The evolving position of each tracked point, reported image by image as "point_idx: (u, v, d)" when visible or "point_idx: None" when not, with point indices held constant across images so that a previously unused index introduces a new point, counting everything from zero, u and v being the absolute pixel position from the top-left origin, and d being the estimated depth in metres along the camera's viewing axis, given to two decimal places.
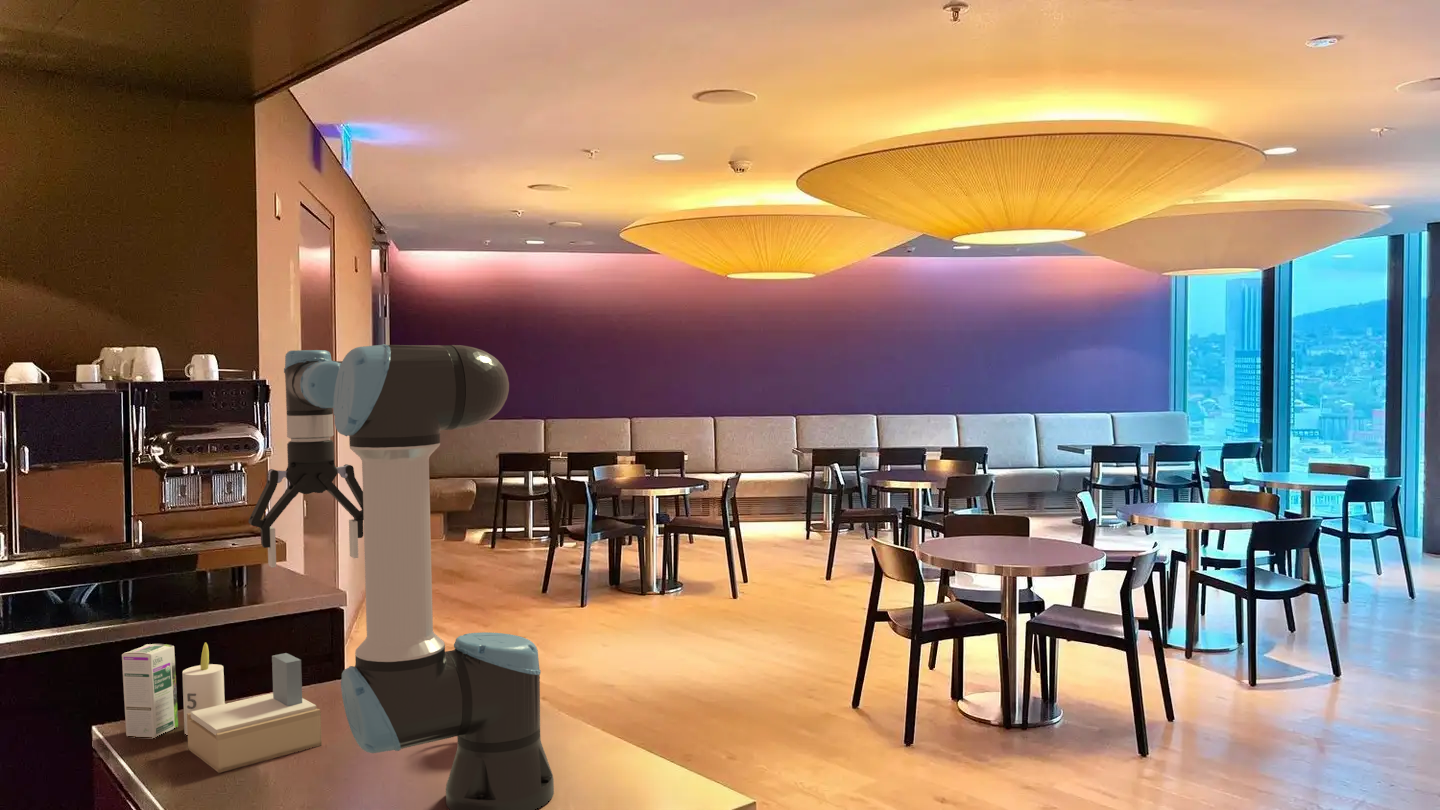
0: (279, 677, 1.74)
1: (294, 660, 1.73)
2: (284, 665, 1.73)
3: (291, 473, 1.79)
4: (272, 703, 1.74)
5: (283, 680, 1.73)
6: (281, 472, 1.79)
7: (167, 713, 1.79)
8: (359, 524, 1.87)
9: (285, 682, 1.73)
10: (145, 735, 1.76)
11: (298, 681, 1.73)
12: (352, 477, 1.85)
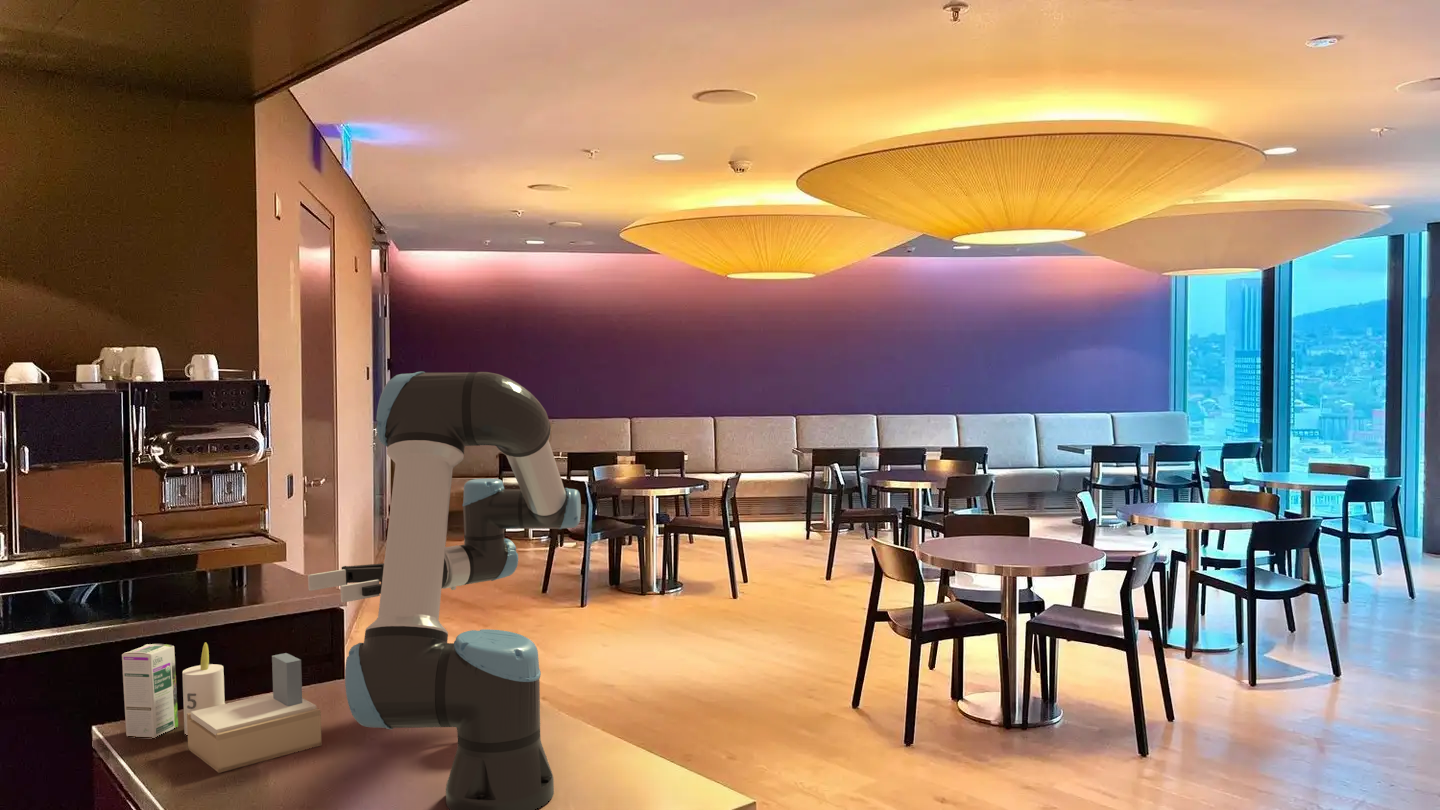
0: (279, 677, 1.74)
1: (294, 660, 1.73)
2: (284, 665, 1.73)
3: None
4: (272, 703, 1.74)
5: (283, 680, 1.73)
6: None
7: (167, 713, 1.79)
8: (377, 585, 1.78)
9: (285, 682, 1.73)
10: (145, 735, 1.76)
11: (298, 681, 1.73)
12: None
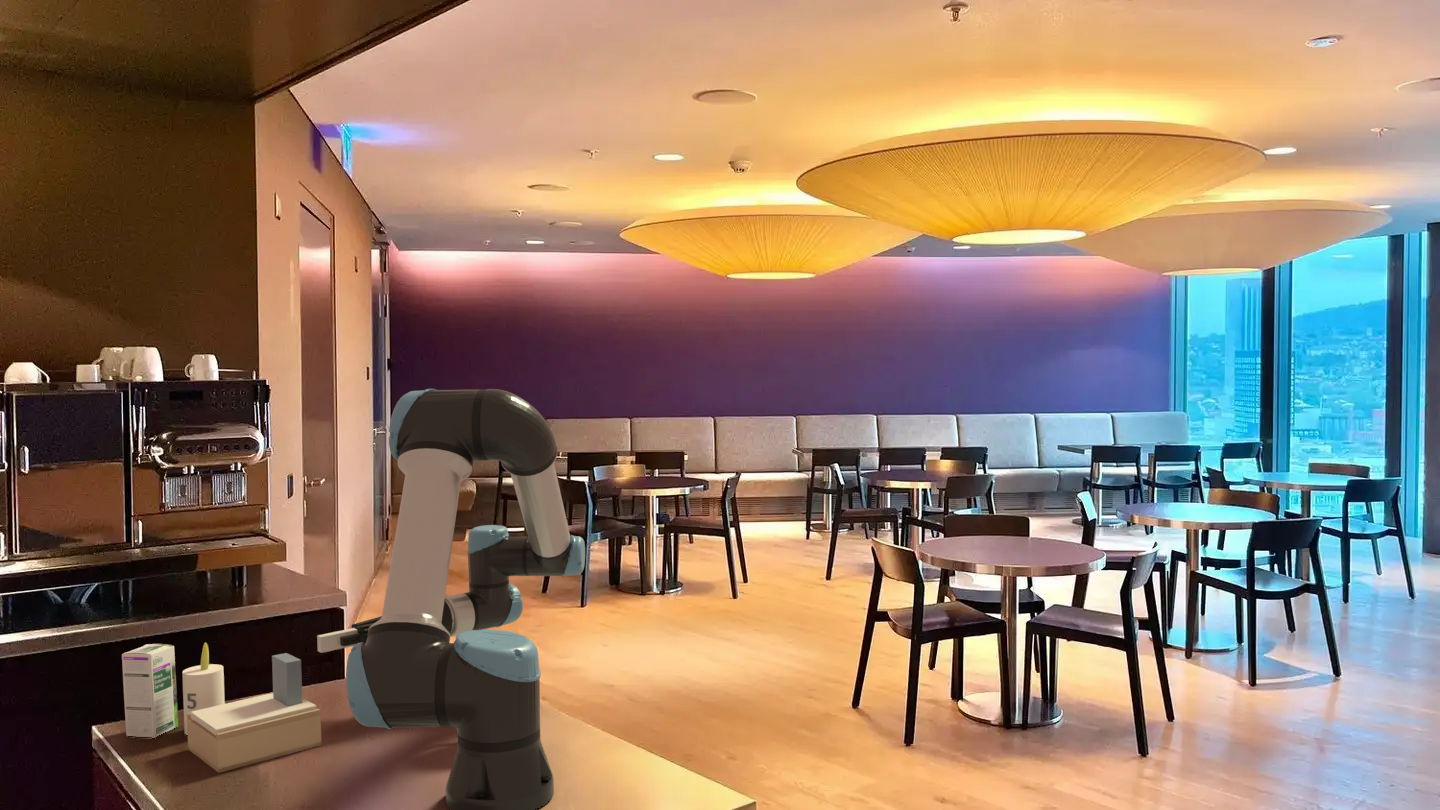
0: (279, 677, 1.74)
1: (294, 660, 1.73)
2: (284, 665, 1.73)
3: None
4: (272, 703, 1.74)
5: (283, 680, 1.73)
6: None
7: (167, 713, 1.79)
8: (355, 634, 1.82)
9: (285, 682, 1.73)
10: (145, 735, 1.76)
11: (298, 681, 1.73)
12: None
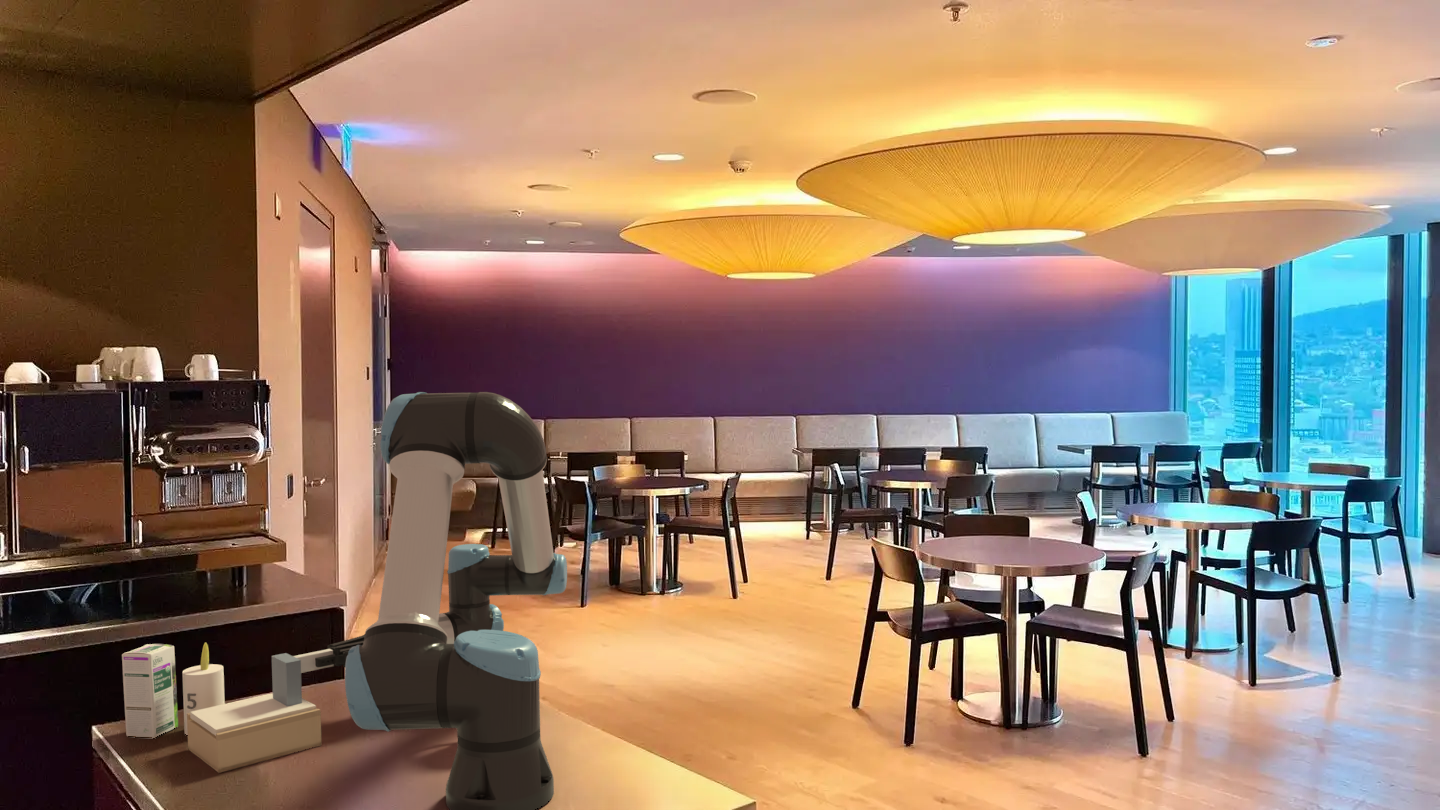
0: (279, 677, 1.74)
1: (294, 660, 1.73)
2: (284, 665, 1.73)
3: None
4: (271, 703, 1.74)
5: (283, 680, 1.73)
6: None
7: (167, 713, 1.79)
8: (330, 655, 1.80)
9: (285, 682, 1.73)
10: (145, 735, 1.76)
11: (297, 681, 1.73)
12: None
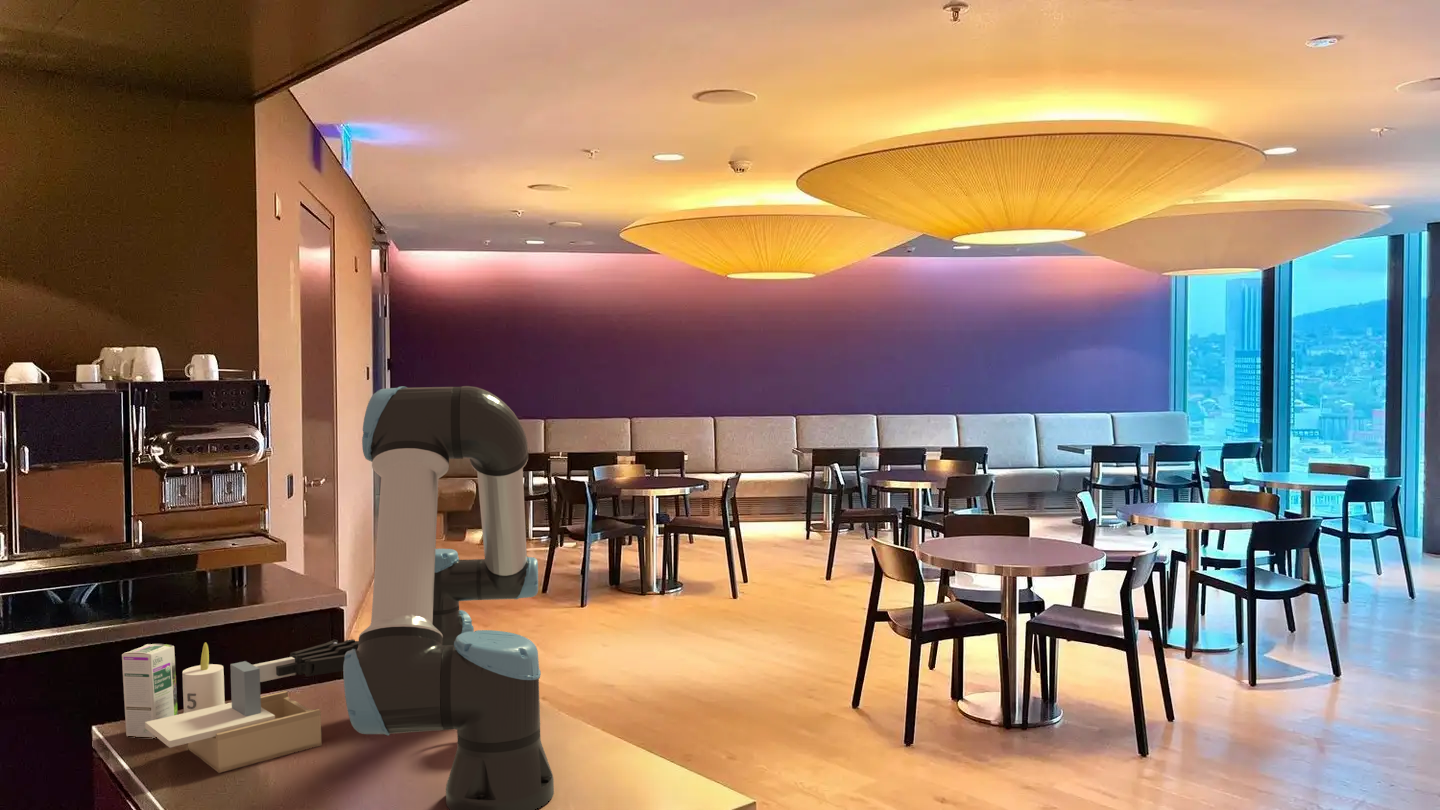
0: (238, 686, 1.70)
1: (252, 669, 1.69)
2: (242, 674, 1.68)
3: None
4: (229, 713, 1.69)
5: (241, 689, 1.68)
6: None
7: (167, 713, 1.79)
8: (292, 663, 1.75)
9: (243, 691, 1.68)
10: (145, 735, 1.76)
11: (256, 691, 1.69)
12: None
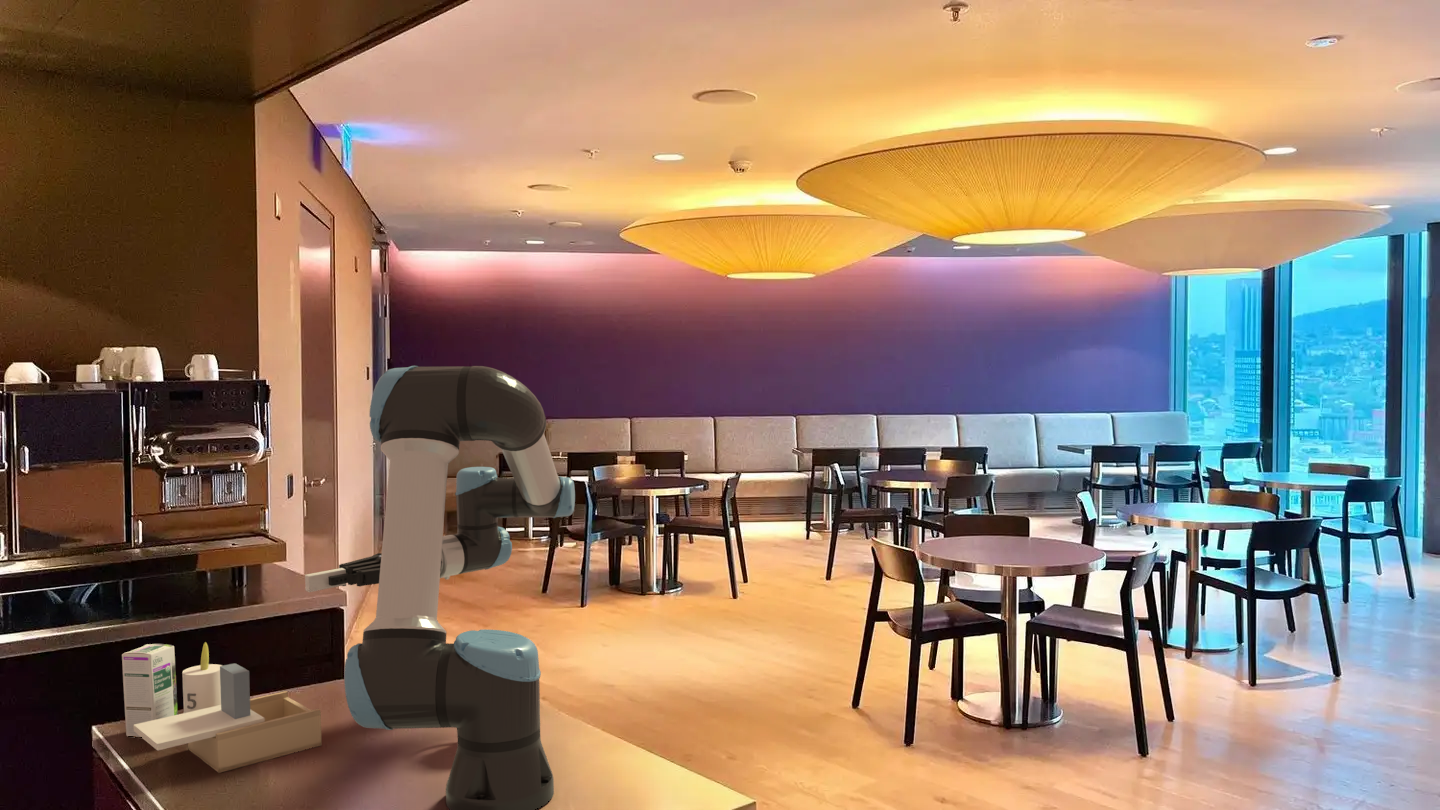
0: (227, 688, 1.68)
1: (242, 671, 1.68)
2: (231, 676, 1.67)
3: None
4: (219, 716, 1.68)
5: (231, 691, 1.67)
6: None
7: (167, 713, 1.79)
8: (343, 574, 1.79)
9: (232, 694, 1.67)
10: None
11: (246, 693, 1.68)
12: None
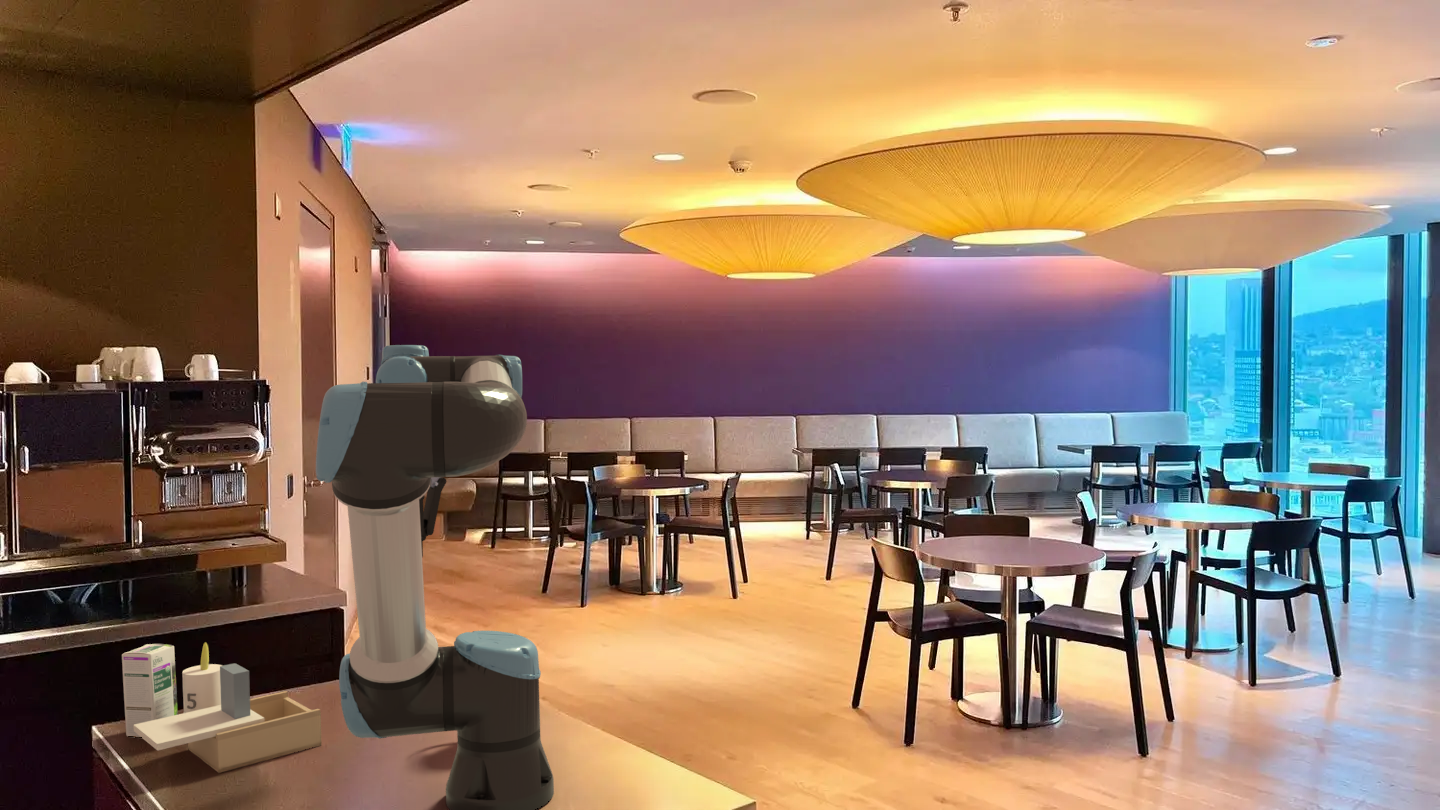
0: (227, 688, 1.68)
1: (242, 671, 1.68)
2: (231, 676, 1.67)
3: None
4: (219, 716, 1.68)
5: (231, 691, 1.67)
6: None
7: (167, 713, 1.79)
8: None
9: (232, 694, 1.67)
10: None
11: (246, 693, 1.68)
12: (439, 490, 1.77)
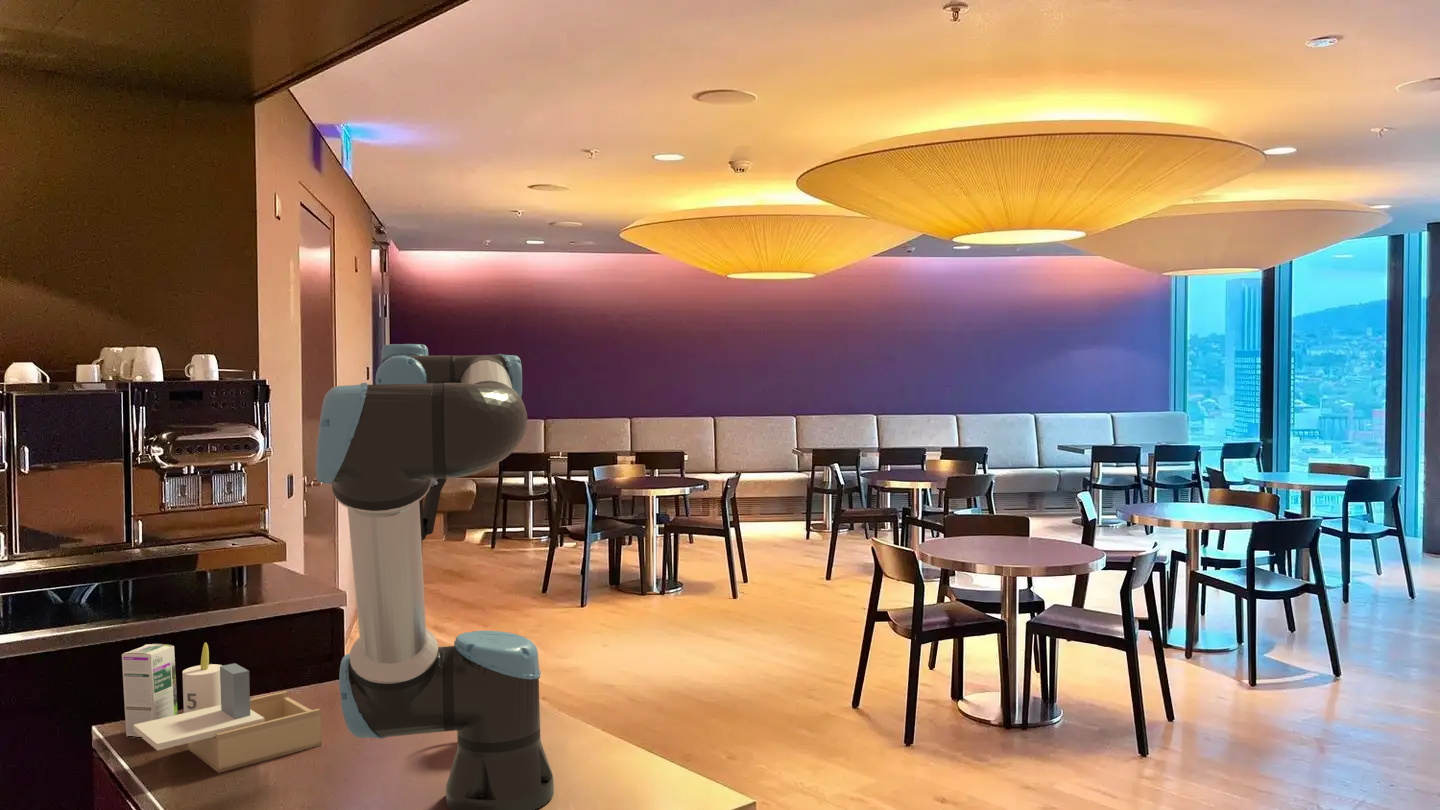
0: (227, 688, 1.68)
1: (242, 671, 1.68)
2: (231, 676, 1.67)
3: None
4: (219, 716, 1.68)
5: (231, 691, 1.67)
6: None
7: (167, 713, 1.79)
8: None
9: (232, 694, 1.67)
10: None
11: (246, 693, 1.68)
12: (439, 489, 1.77)
